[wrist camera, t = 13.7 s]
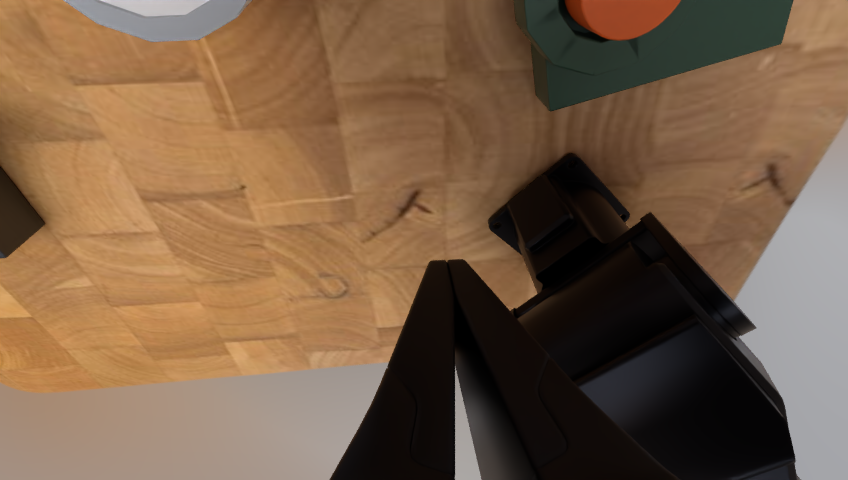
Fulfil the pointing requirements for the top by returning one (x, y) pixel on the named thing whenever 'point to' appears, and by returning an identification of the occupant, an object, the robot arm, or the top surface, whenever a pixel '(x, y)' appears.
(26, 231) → the tap plate
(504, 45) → the top surface
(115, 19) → the white cup
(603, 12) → the button
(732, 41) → the button base
